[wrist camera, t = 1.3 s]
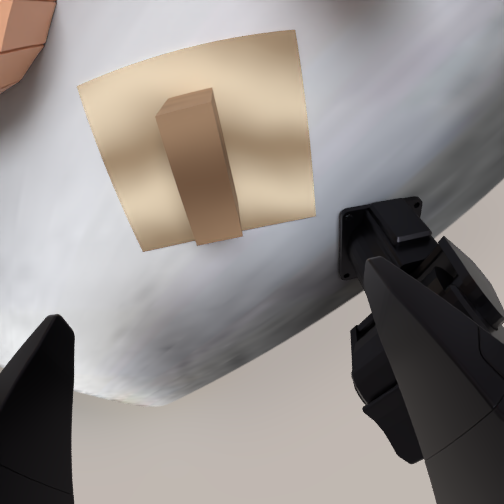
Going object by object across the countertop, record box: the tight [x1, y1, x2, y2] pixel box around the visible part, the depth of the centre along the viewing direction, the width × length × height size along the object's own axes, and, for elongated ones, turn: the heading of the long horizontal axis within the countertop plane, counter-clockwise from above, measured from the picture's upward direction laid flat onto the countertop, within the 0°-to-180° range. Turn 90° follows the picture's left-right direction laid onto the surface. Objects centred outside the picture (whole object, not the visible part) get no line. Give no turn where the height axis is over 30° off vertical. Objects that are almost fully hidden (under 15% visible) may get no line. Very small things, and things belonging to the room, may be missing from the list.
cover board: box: [77, 30, 316, 252], centre depth 16 cm, size 12×12×5 cm
